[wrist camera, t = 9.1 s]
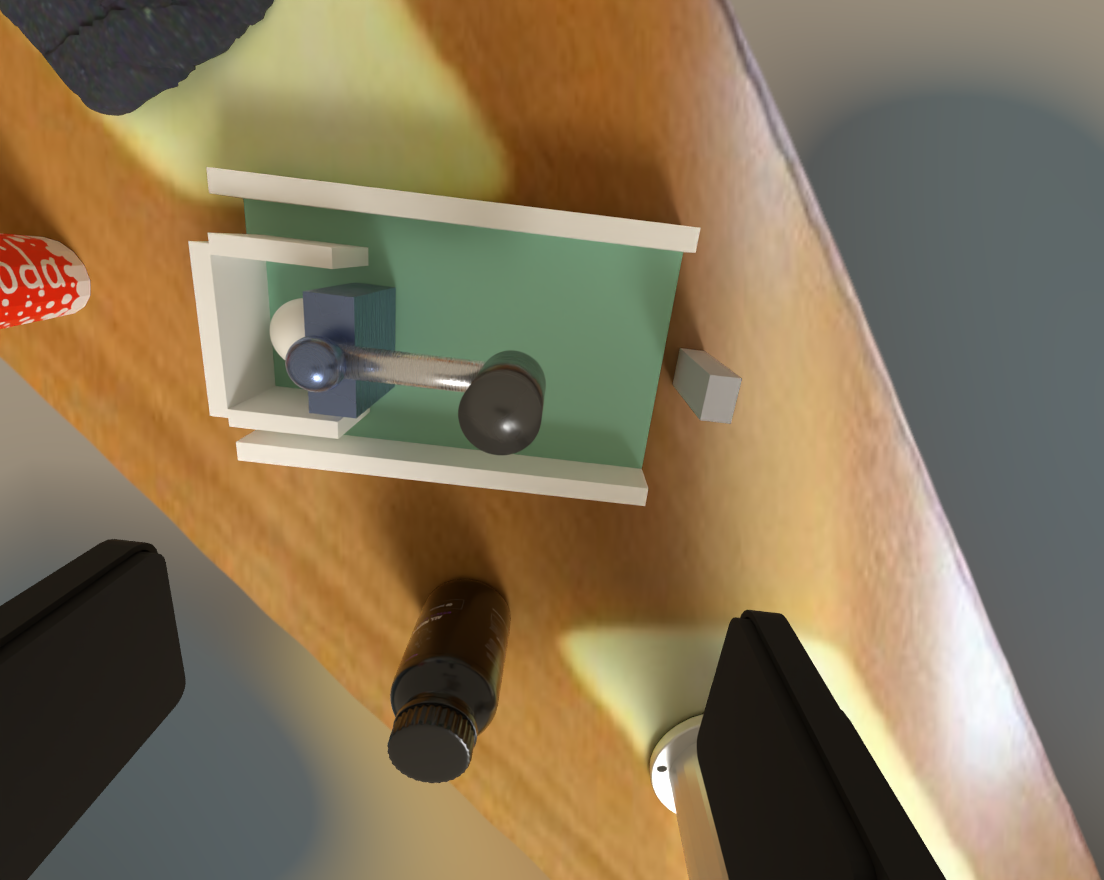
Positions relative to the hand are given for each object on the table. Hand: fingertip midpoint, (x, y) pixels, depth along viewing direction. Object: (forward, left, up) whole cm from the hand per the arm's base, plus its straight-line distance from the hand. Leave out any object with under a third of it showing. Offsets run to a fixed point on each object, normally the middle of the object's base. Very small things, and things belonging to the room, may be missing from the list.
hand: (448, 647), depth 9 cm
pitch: (+3, 0, -26) cm, 26 cm away
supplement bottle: (+3, +21, -26) cm, 34 cm away
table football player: (+5, 0, -24) cm, 25 cm away
